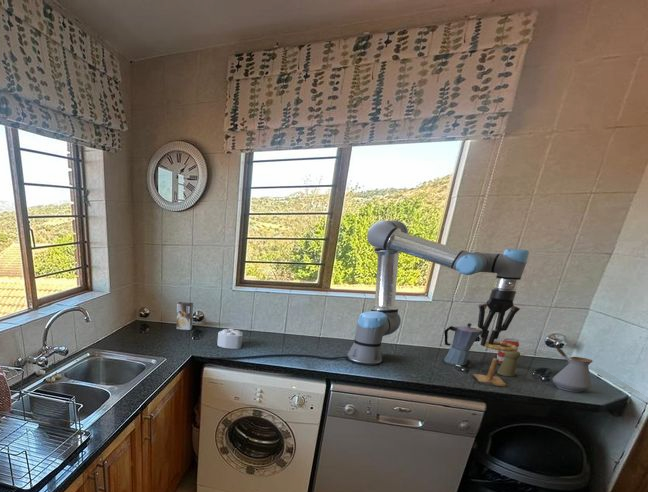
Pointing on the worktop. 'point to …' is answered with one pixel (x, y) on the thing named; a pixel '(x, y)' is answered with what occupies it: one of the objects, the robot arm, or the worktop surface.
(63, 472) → the worktop surface
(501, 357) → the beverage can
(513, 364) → the cork
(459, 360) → the moka pot
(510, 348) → the ring
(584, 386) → the coffee pot
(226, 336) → the lumpy-topped squat cylinder
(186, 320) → the coffee box
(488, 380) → the wooden peg stand
